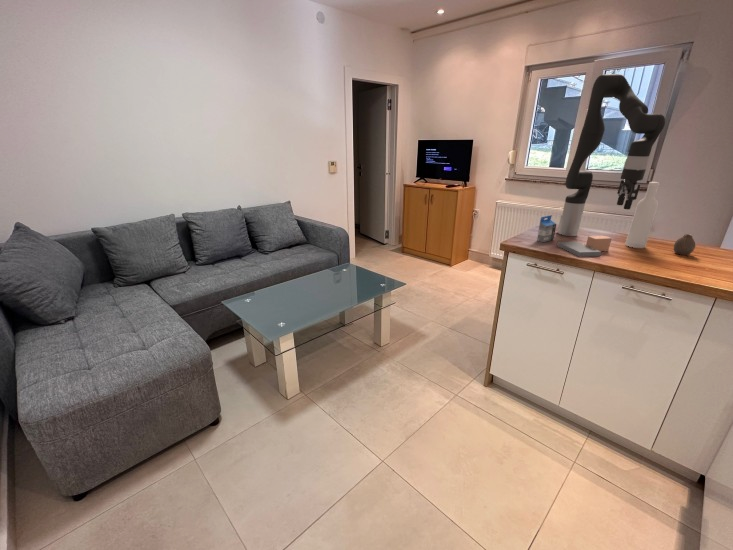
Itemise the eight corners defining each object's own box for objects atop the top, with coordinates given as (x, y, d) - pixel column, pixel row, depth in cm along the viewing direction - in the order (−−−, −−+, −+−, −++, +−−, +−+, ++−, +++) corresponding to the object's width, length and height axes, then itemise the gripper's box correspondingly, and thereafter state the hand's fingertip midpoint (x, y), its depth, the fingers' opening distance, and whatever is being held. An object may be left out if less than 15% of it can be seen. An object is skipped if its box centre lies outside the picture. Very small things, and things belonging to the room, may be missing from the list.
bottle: (623, 243, 166) (641, 180, 155) (642, 244, 163) (662, 181, 152) (626, 247, 159) (646, 182, 148) (647, 249, 156) (668, 183, 145)
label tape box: (543, 242, 168) (548, 218, 163) (536, 240, 171) (540, 216, 166) (553, 240, 172) (558, 216, 167) (546, 238, 175) (551, 215, 170)
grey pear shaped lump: (675, 255, 148) (682, 236, 145) (668, 250, 154) (675, 232, 151) (695, 257, 146) (702, 237, 142) (687, 252, 152) (694, 233, 148)
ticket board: (556, 245, 162) (557, 241, 161) (576, 245, 163) (577, 241, 162) (578, 256, 147) (580, 252, 146) (600, 255, 148) (601, 251, 147)
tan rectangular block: (585, 248, 157) (588, 236, 155) (601, 247, 158) (604, 235, 156) (591, 251, 153) (595, 238, 151) (608, 250, 154) (611, 238, 152)
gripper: (618, 165, 144) (607, 203, 151) (630, 169, 132) (618, 210, 138) (638, 166, 142) (627, 204, 148) (653, 169, 130) (639, 211, 136)
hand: (623, 207), depth 143 cm, fingers open, 8 cm apart
